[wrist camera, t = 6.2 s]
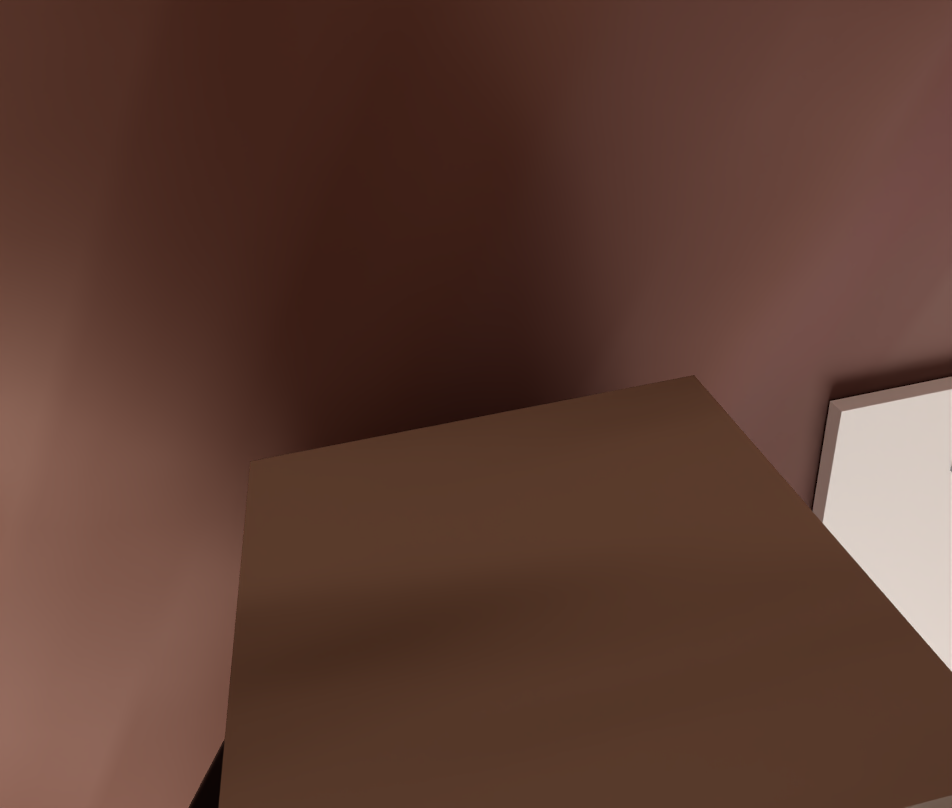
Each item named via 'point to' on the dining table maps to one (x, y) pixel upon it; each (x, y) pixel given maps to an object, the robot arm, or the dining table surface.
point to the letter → (895, 498)
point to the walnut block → (568, 625)
